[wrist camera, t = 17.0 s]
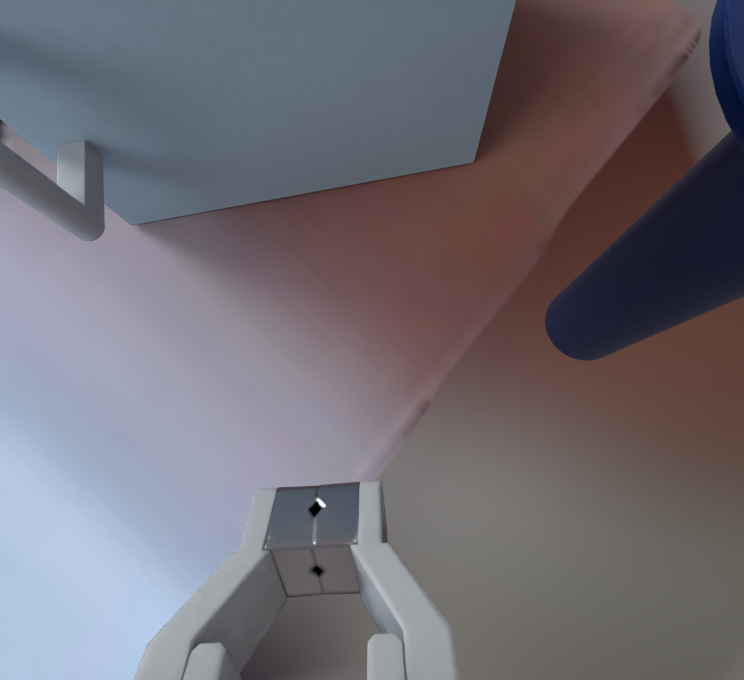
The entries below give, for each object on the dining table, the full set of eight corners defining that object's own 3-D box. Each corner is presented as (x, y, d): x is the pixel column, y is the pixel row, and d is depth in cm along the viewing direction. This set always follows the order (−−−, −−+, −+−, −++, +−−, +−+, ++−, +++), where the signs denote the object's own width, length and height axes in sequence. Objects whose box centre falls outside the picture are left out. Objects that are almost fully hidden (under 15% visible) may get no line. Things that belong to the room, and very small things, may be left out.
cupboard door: (490, 227, 31) (737, -368, 8) (133, 291, 32) (-551, -101, 9) (471, 151, 33) (636, -531, 10) (130, 214, 33) (-462, -293, 10)
